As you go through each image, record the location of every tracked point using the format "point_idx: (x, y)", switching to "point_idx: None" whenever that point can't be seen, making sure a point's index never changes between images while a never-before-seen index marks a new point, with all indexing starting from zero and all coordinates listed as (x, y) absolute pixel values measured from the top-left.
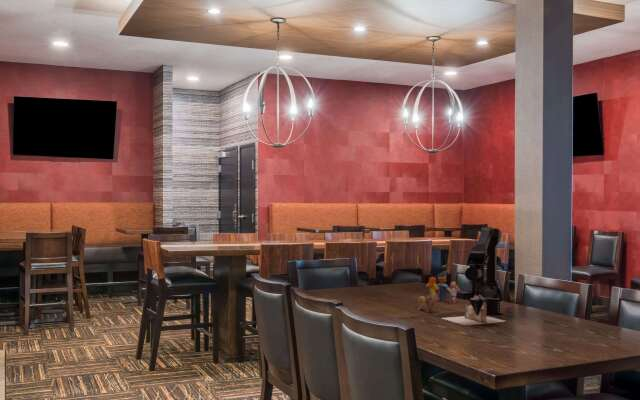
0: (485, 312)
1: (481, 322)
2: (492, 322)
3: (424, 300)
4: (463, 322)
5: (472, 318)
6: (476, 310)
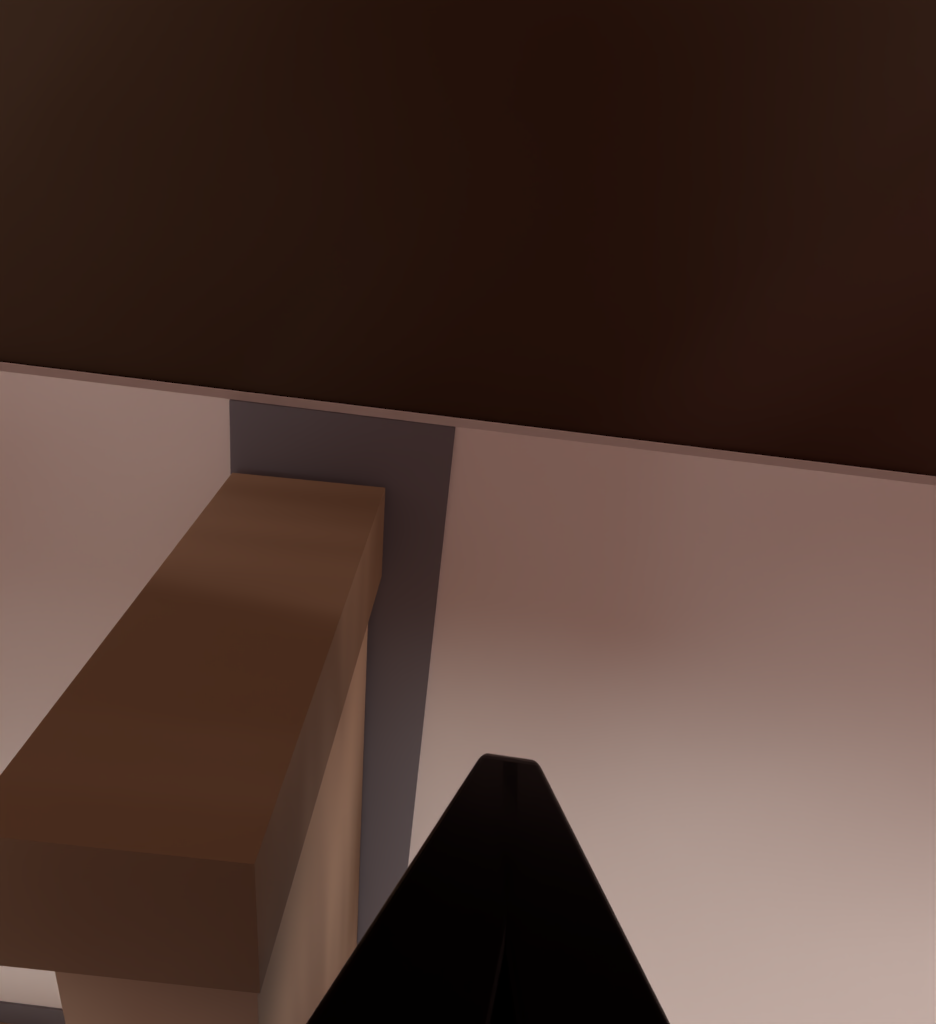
0: (126, 693)
1: (435, 504)
2: (12, 367)
3: None
4: (927, 776)
5: (354, 932)
6: (624, 979)
